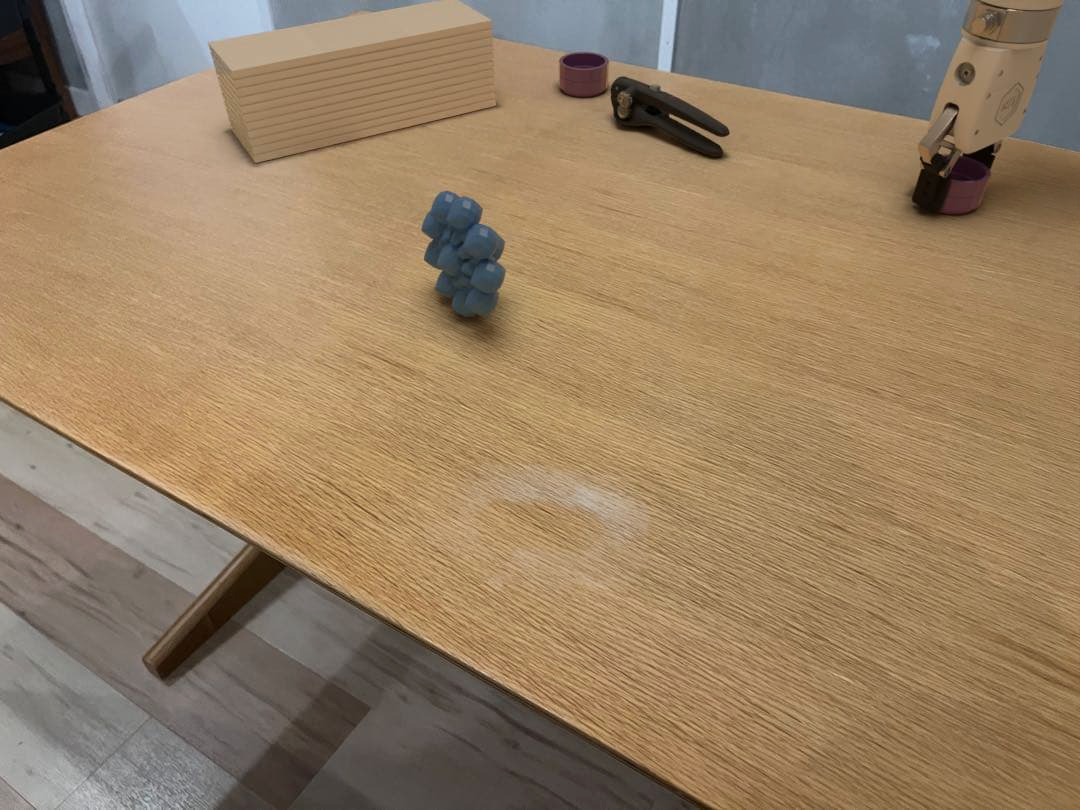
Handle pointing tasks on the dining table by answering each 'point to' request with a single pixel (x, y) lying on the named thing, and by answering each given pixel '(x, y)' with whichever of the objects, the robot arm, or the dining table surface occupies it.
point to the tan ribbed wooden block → (354, 76)
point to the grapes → (464, 254)
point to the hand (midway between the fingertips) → (947, 194)
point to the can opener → (664, 114)
